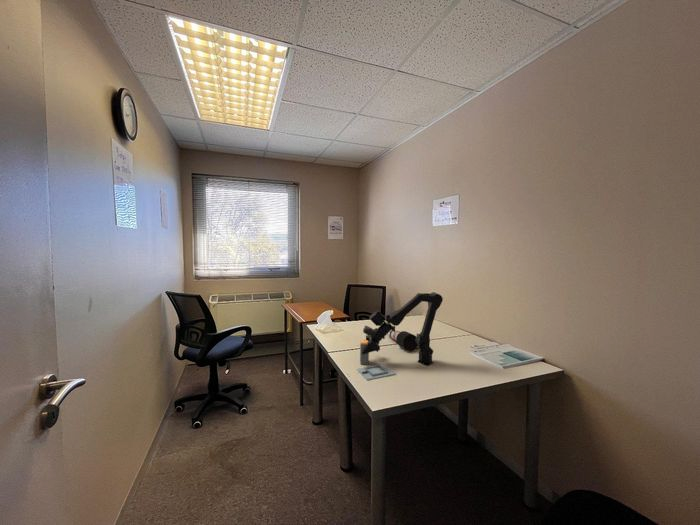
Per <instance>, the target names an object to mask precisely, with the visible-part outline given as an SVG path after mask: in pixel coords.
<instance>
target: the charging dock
mask: <svg viewBox="0 0 700 525" xmlns="http://www.w3.org/2000/svg"><path fill="white" fill-rule="evenodd" d="M356 371H357V372H358V373H359V374H360V375H361V376H362V377H363V378H364V379H365V380H366V381H370V380H375V379H380V378H381V379H382V378H385V377H390V376H395V375H397V373H396V372H395V371H393V369H391V368H390V367H388V366H387V365H386V364H385V363H381V364H376V365H370V366H366V367H365V366H364V367H359V368H356Z"/></svg>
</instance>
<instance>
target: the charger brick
mask: <svg viewBox="0 0 700 525" xmlns="http://www.w3.org/2000/svg"><path fill="white" fill-rule="evenodd" d="M359 344H360V345H359V363H360V365H362V366H363V365H365V366H366V365H369V363H370V362H369V361H370V360H369V357H370V356H369V355H370V352H369V353H366V354H362V352H363V351H364V349H365V348H366V347H367V345H368V340H366V339H364V340H363V339H362V340H359Z"/></svg>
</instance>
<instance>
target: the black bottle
mask: <svg viewBox="0 0 700 525" xmlns="http://www.w3.org/2000/svg"><path fill="white" fill-rule="evenodd" d="M387 336H388V338H391V339H392V340H393V341H395V342H396V344H397V345H398V347H401V348H402V349H403V350H405V351H408V352H413V351H415V350H416V349H417V348H418V346H417V344H416V341H415V339H416V337H417V335H415V334H413V333H410V332H408V331H405V330H402V331H399V330H396V329H395V332H394V331H393V330H391V331H390V332H389V333H388V334H387Z"/></svg>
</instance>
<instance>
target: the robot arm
mask: <svg viewBox="0 0 700 525" xmlns="http://www.w3.org/2000/svg"><path fill="white" fill-rule="evenodd" d="M443 301H444V299H443V296H442V295H441V294H439V293H437V292H430V293H427V292H426V293H425V292H424V293H421V292H418V293H416V294H415V296H413V297H412V298H411V299H410V300H409V301H407V303H405V304H404V305H403V306H401V308H399V309H397V310H394V311H393V312H392V313H390V314H387V315H383V314H382V313H381V311H380V310H379V309H378V310H376V311H374V312H372V313H371V315H370V316H369V317H368V319H369V320H370V321H371V322H372V323H373V325H375V326H376V327H375V328H372V327H370V326H367V325H364V327H363V330H362V331H363V333H364V334H365V340H368V345H367V347H366V348H365V349H364V351H363V352H362V354H366V353H369V354H370V353H372V352H377V353H378V352H379V351H380V350H381V347H380V342H381V341H382V340H385V339H386V336H388V333H389V332H390V331H391V330H393V331H394V332H395V330H396V326H399V325H400V324H401V323H402V322H403V321H404V319H405V317H406V316H407V315H408V314H409V313H410V312H411V311H413V309H415V308H416V307H417V306H418V305H420V304H421V302H425V303H427V311H426V315H425V317H424V318H425V319H424V322H423V325H422V328H421V330H420V331H421V332H420V333H416V339H415V341H416V344H417V348H418V349H419V352H418V360H417V362H418V363H420V364H423V365H424V366H430V365H431V364H434V361H433V353H434V350H433V349H432V348H431V347H432V346H430V342H431V340H430V338H431V337H430V334H431V331H432V327H433V324H434V320H435V317H436V315H437V314H436V313H437V311H438V310H439V308H440V307H441V305H442V303H443ZM377 327H378V328H377Z"/></svg>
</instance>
